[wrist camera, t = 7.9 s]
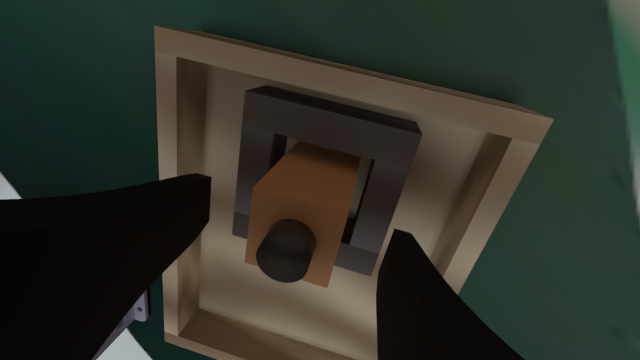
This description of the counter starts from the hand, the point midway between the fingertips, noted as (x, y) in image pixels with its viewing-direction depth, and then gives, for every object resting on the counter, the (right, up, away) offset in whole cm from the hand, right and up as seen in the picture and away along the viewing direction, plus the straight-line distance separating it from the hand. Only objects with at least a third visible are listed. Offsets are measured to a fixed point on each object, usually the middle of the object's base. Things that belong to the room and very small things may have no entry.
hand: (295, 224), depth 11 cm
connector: (+1, +2, +5) cm, 5 cm away
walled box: (0, -2, +8) cm, 8 cm away
